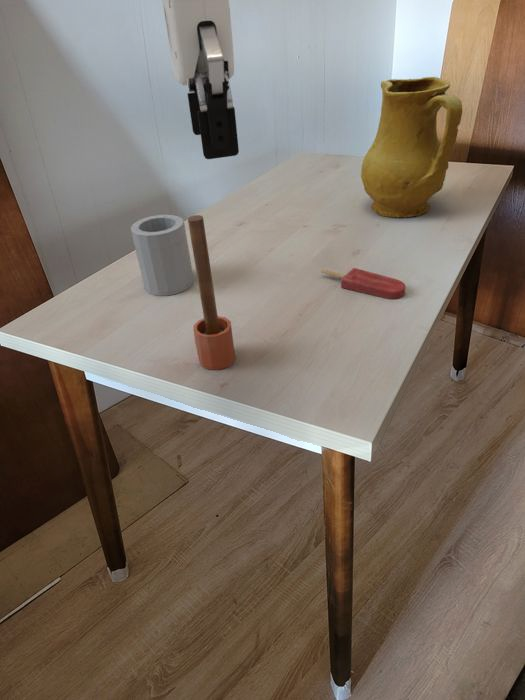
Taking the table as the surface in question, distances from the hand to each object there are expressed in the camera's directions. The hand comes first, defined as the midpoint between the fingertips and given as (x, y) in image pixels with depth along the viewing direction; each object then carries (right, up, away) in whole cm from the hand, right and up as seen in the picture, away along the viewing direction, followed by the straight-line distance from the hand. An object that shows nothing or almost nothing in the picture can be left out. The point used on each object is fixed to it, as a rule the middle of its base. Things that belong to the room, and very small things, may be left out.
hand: (214, 143), depth 51 cm
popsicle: (+21, -10, +35) cm, 42 cm away
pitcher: (+35, +10, +61) cm, 70 cm away
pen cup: (-2, -22, +21) cm, 30 cm away
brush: (-2, -21, +21) cm, 30 cm away
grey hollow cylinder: (-12, -9, +40) cm, 43 cm away
